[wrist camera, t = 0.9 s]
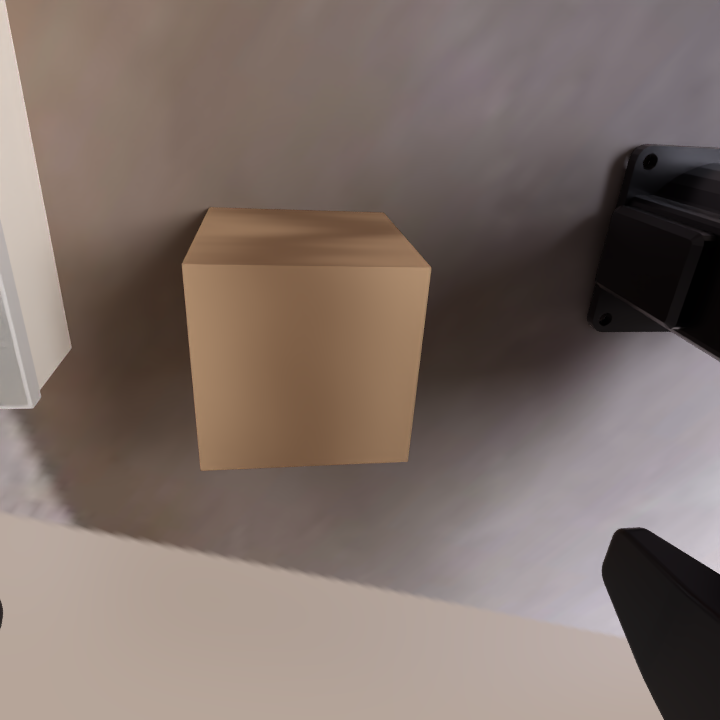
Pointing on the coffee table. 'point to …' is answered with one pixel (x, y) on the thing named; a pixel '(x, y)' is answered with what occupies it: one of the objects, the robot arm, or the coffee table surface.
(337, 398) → the walnut block
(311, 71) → the coffee table surface
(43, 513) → the coffee table surface
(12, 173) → the white rectangular box
